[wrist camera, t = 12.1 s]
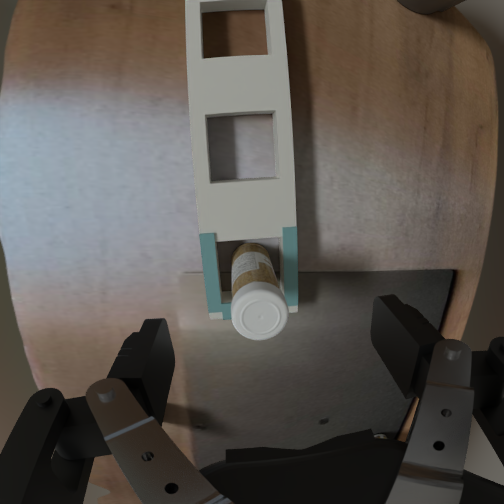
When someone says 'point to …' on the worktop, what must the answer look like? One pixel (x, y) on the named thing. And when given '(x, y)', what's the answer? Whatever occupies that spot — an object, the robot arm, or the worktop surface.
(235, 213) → the rail
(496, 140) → the worktop surface
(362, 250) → the worktop surface
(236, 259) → the sprinkles bottle
